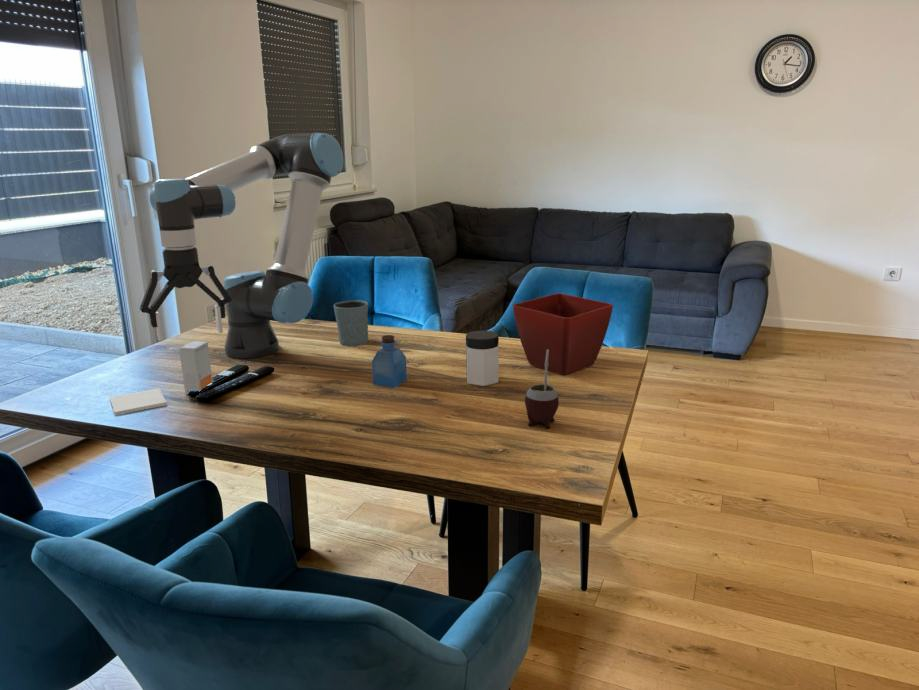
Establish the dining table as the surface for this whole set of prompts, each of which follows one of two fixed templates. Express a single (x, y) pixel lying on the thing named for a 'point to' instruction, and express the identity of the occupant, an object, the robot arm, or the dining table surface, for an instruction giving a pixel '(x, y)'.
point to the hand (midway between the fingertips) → (190, 335)
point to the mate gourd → (541, 402)
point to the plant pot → (562, 331)
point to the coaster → (137, 401)
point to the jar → (482, 358)
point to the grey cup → (352, 322)
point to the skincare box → (195, 366)
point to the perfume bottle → (389, 364)
